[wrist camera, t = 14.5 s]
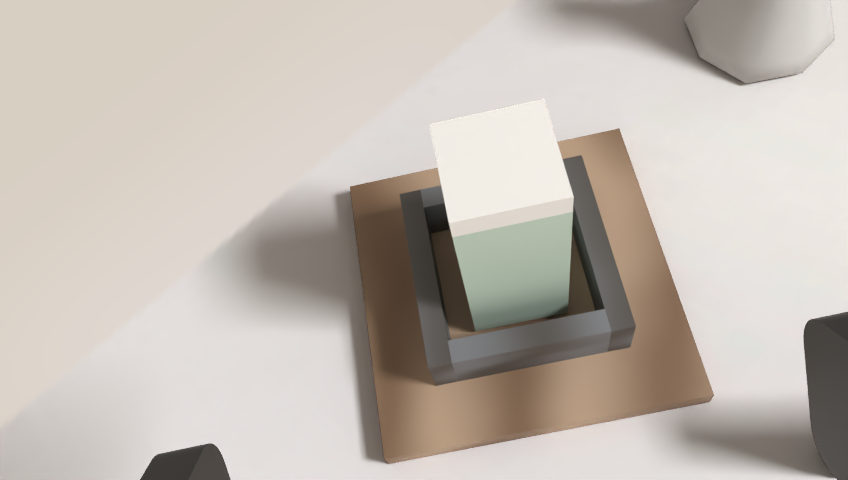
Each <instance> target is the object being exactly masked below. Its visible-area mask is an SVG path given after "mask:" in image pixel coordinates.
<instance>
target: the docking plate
mask: <svg viewBox="0 0 848 480" xmlns="http://www.w3.org/2000/svg"><path fill="white" fill-rule="evenodd" d="M557 143H558V146H559V150H560V153H561V156H562V160H563V163H564V166H565V169H566V173H567V176H568V179H569V183H570V186H571V189H572V193H573V196H574V201H573V221H572V240H571V260H570V280H569V299H568V313H563V314H558V315H554V316H549V317H544V318H539V319H534V320H529V321H524V322H519V323H514V324H509V325H504V326H499V327H495V328H490V329H485V330H480V331H475V327H474V323H473V319H472V315H471V311H470V307H469V303H468V299H467V295H466V291H465V287H464V283H463V279H462V275H461V271H460V267H459V263H458V259H457V255H456V251H455V247H454V243H453V238H452V234H451V230H450V226H449V222H448V217H447V212H446V207H445V202H444V197H443V192H442V187H441V182H440V177H439V172H438V168H435V169H430V170H425V171H421V172H416V173H411V174H407V175H402V176H397V177H393V178H388V179H384V180H379V181H374V182H370V183H365V184H360V185H356V186H351V187H350V191H351V199H352V207H353V215H354V223H355V231H356V239H357V247H358V255H359V263H360V270H361V278H362V286H363V294H364V302H365V310H366V318H367V326H368V334H369V342H370V350H371V358H372V366H373V374H374V382H375V390H376V398H377V405H378V413H379V421H380V429H381V437H382V445H383V453H384V459H385V460H386V461H387V463H388V464H391V463H396V462H401V461H406V460H411V459H417V458H422V457H427V456H432V455H437V454H443V453H448V452H453V451H458V450H463V449H468V448H474V447H479V446H484V445H489V444H494V443H499V442H505V441H510V440H515V439H520V438H525V437H530V436H536V435H541V434H546V433H551V432H556V431H562V430H567V429H572V428H577V427H582V426H587V425H593V424H598V423H603V422H608V421H613V420H618V419H624V418H629V417H634V416H639V415H644V414H649V413H655V412H660V411H665V410H670V409H675V408H681V407H686V406H691V405H696V404H701V403H706V402H710V400H711V399H712V397H713V396H714V394H713V391H712V388H711V386H710V383H709V380H708V377H707V374H706V372H705V369H704V366H703V363H702V360H701V357H700V355H699V352H698V349H697V346H696V343H695V341H694V338H693V335H692V332H691V329H690V327H689V324H688V321H687V318H686V315H685V313H684V310H683V307H682V304H681V301H680V298H679V296H678V293H677V290H676V287H675V284H674V282H673V279H672V276H671V273H670V270H669V268H668V265H667V262H666V259H665V256H664V254H663V251H662V248H661V245H660V242H659V239H658V237H657V234H656V231H655V228H654V225H653V223H652V220H651V217H650V214H649V211H648V209H647V206H646V203H645V200H644V197H643V194H642V192H641V189H640V186H639V183H638V180H637V178H636V175H635V172H634V169H633V166H632V164H631V161H630V158H629V155H628V152H627V150H626V147H625V144H624V141H623V138H622V135H621V133H620V130H619V129H615V130H611V131H606V132H601V133H597V134H592V135H587V136H583V137H578V138H574V139H569V140H564V141H560V142H557Z"/></svg>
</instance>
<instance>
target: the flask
mask: <svg viewBox="0 0 848 480" xmlns="http://www.w3.org/2000/svg"><path fill="white" fill-rule="evenodd" d="M684 20H685V22H686V25H687V27H688V30H689V32H690V35H691V37H692V40H693V42H694V45H695V47H696V50H697V52H698V55H699V57H700V58H702V59H704V60H705V61H707V62H709V63H711V64H712V65H714V66H716V67H718V68H719V69H721V70H723V71H725V72H726V73H728V74H730V75H732V76H734V77H735V78H737V79H739V80H741V81H742V82H744V83H746V84H747V83H752V82H758V81H763V80H768V79H773V78H778V77H784V76H789V75H794V74H799V73H803V72H804V71H805V70H806V69H807V67H808V66H809V65H810V64H811V63H812V62H813V61H814V60H815V59H816V58H817V57H818V56H819V55H820V54H821V53H822V52H823V51H824V50H825V49H826V48H827V47H828V46H829V45H830V44H831V43H832V42H833V41H834V25H833V15H832V6H831V0H698V1H697V3H696V4H695V5H694V6H693V8H692V9H691V10H690V11H689V13H688V14H687V15H686V17H685V18H684Z"/></svg>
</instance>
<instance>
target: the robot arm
mask: <svg viewBox="0 0 848 480" xmlns="http://www.w3.org/2000/svg"><path fill="white" fill-rule="evenodd" d="M804 350H805V362H806V373H807V385H808V397H809V409H810V420H811V429H812V433H813V437H814V441H815V443H816V446H817V449H818V451H819V454H820V456H821V458H822V460H823V461H824V463H825V465H826V466H827V468H828V469H829V471H830V472H831V473H832V474H833V476H834V477H835V478H836V479H837V480H848V312H844V313H840V314H835V315H830V316H825V317H820V318H816V319H811V320H809V321H808V322H807V324H806V326H805V329H804ZM140 480H230V477H229V474H228V471H227V468H226V465H225V462H224V459H223V457H222V455H221V453H220V451H219V449H218V448H217V447H216V446H215V445H214V444H205V445H200V446H195V447H190V448H186V449H181V450H176V451H171V452H166V453H162V454H158V455H156V456H155V457H154V458H153V459H152V461H151V463H150V464H149V466H148V468H147V469H146V471H145V473H144V474H143V476H142V478H141V479H140Z"/></svg>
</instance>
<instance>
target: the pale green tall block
mask: <svg viewBox="0 0 848 480" xmlns="http://www.w3.org/2000/svg"><path fill="white" fill-rule="evenodd" d="M429 127H430V132H431V137H432V142H433V147H434V152H435V157H436V162H437V167H438V172H439V177H440V182H441V187H442V192H443V197H444V202H445V207H446V212H447V217H448V222H449V226H450V230H451V234H452V238H453V243H454V247H455V251H456V255H457V259H458V263H459V267H460V271H461V275H462V279H463V283H464V287H465V291H466V295H467V299H468V303H469V307H470V311H471V315H472V319H473V323H474V327H475V331H480V330H485V329H490V328H495V327H499V326H504V325H509V324H514V323H519V322H524V321H529V320H534V319H539V318H544V317H549V316H554V315H558V314H563V313H568V299H569V280H570V260H571V240H572V221H573V201H574V196H573V193H572V189H571V186H570V183H569V179H568V176H567V173H566V169H565V166H564V163H563V160H562V156H561V153H560V150H559V146H558V143H557V140H556V136H555V133H554V130H553V126H552V123H551V120H550V117H549V113H548V110H547V107H546V103H545V100H544V99H540V100H536V101H531V102H527V103H522V104H518V105H513V106H509V107H504V108H499V109H495V110H490V111H486V112H481V113H477V114H472V115H468V116H463V117H459V118H454V119H449V120H445V121H440V122H436V123H431V124H429Z"/></svg>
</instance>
